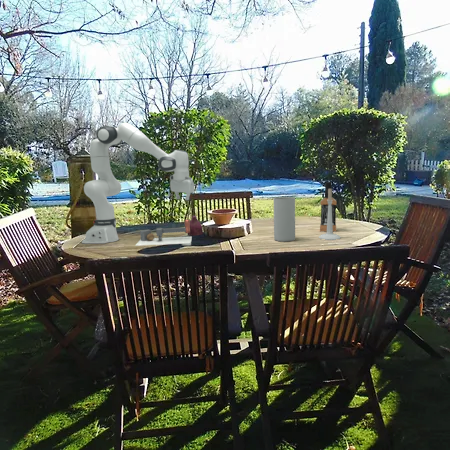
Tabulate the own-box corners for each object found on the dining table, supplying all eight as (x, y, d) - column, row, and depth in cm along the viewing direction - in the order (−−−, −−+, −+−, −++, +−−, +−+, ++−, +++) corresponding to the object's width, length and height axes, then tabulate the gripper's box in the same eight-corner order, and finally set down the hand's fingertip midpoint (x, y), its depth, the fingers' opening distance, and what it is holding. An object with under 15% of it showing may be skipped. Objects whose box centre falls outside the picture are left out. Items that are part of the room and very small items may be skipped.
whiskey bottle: (336, 229, 264) (336, 181, 259) (336, 231, 255) (336, 182, 250) (320, 229, 267) (320, 181, 262) (319, 231, 257) (320, 182, 252)
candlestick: (334, 235, 243) (334, 186, 239) (344, 239, 231) (345, 188, 226) (315, 237, 241) (315, 187, 236) (324, 240, 228) (324, 189, 224)
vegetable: (200, 240, 260) (201, 219, 253) (185, 238, 262) (185, 217, 255) (204, 233, 269) (205, 213, 263) (190, 231, 271) (190, 211, 265)
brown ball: (146, 241, 238) (146, 234, 238) (147, 240, 243) (147, 232, 242) (153, 241, 239) (153, 233, 238) (154, 239, 243) (154, 232, 242)
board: (135, 247, 228) (134, 235, 227) (141, 240, 249) (140, 229, 247) (190, 245, 229) (190, 232, 228) (191, 238, 250) (191, 227, 249)
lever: (156, 235, 235) (155, 222, 233) (156, 233, 242) (155, 221, 240) (190, 234, 237) (189, 220, 236) (190, 232, 244) (189, 219, 243)
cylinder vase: (275, 242, 229) (274, 199, 226) (273, 238, 242) (272, 197, 238) (296, 241, 229) (296, 198, 225) (293, 237, 242) (293, 196, 238)
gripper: (196, 177, 234) (197, 200, 236) (176, 176, 249) (177, 198, 251) (187, 177, 230) (188, 201, 232) (168, 176, 245) (169, 198, 247)
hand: (182, 199), depth 242 cm, fingers open, 8 cm apart
